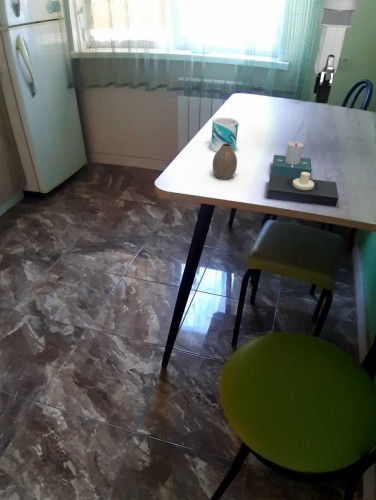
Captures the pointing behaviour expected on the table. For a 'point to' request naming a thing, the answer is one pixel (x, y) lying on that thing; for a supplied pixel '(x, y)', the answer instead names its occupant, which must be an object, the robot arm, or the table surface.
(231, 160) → the vase
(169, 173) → the table surface
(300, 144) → the tap knob
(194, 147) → the table surface
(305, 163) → the panel
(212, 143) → the mug
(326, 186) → the black plate with hole
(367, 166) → the table surface
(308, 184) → the stopper
